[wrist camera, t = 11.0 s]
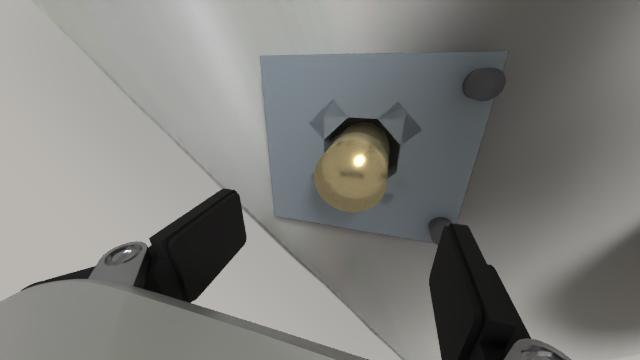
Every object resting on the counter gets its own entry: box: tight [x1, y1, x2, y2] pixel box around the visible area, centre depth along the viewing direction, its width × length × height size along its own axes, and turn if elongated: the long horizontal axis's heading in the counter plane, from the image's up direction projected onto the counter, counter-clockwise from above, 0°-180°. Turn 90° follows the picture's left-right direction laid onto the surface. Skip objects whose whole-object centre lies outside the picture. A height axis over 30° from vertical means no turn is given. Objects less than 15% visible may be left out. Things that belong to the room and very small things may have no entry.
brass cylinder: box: [314, 122, 389, 213], centre depth 19 cm, size 5×5×8 cm
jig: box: [260, 51, 509, 245], centre depth 21 cm, size 18×16×4 cm
